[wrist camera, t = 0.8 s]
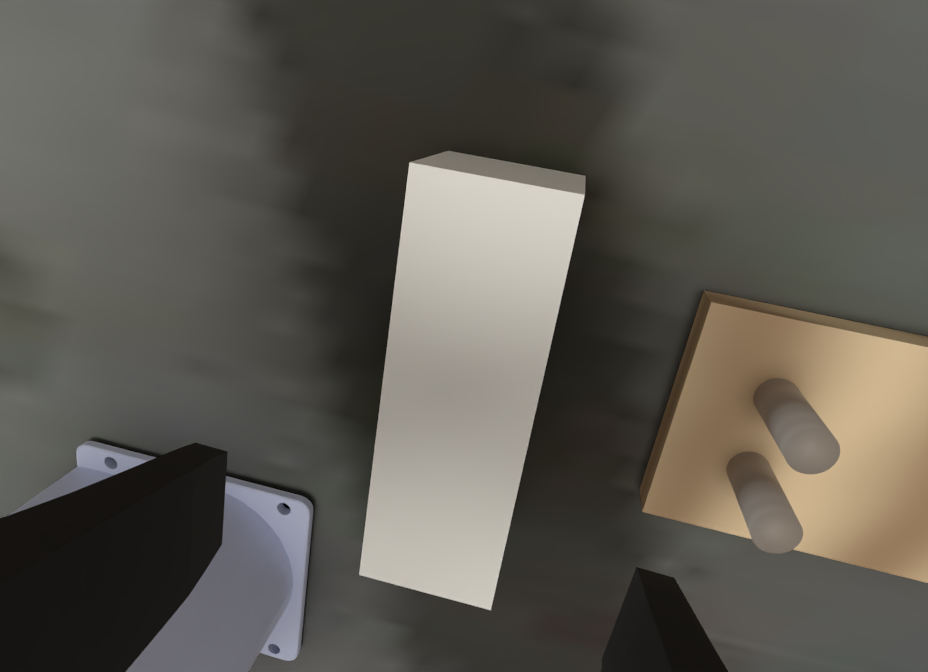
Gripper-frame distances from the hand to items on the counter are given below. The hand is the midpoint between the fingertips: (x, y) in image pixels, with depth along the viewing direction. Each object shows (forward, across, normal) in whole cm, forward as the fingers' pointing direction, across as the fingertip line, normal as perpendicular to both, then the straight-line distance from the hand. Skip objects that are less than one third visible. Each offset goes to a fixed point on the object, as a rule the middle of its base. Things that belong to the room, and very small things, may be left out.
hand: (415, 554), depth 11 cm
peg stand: (+10, -13, 0) cm, 16 cm away
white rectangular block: (+10, 0, 0) cm, 10 cm away
